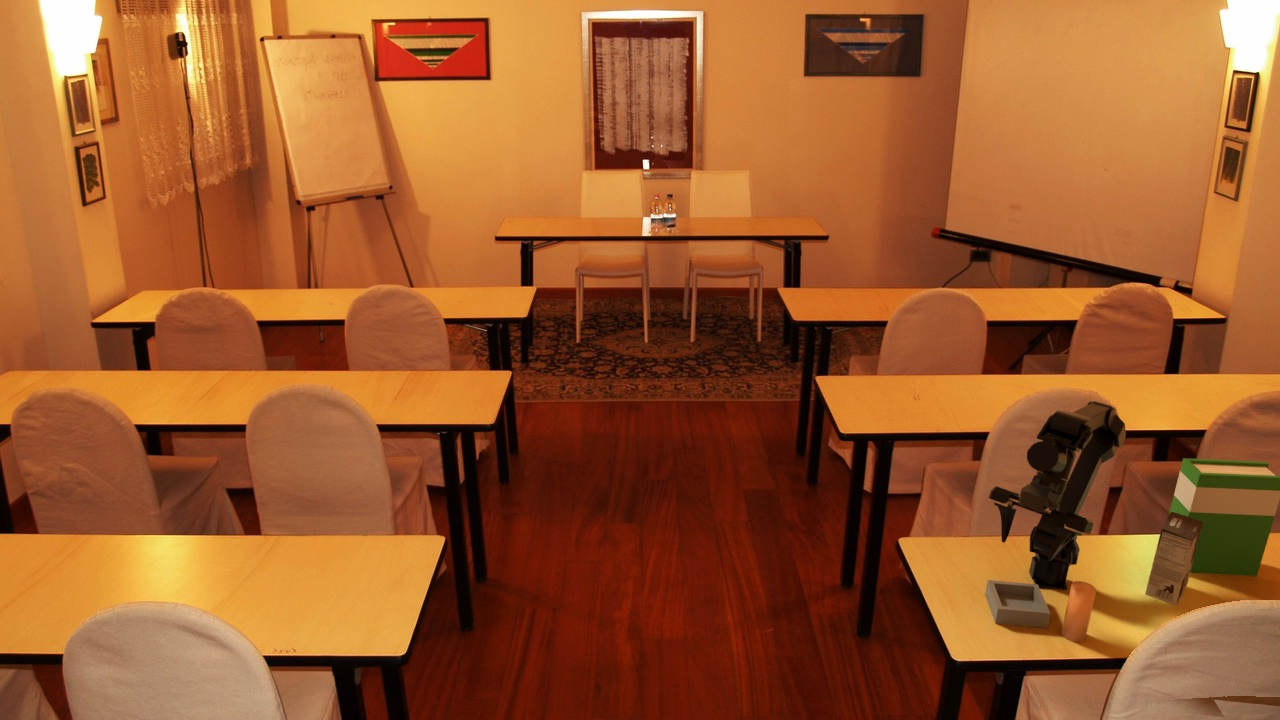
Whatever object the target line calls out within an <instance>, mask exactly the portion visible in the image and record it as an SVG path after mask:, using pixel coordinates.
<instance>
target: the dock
mask: <svg viewBox="0 0 1280 720" xmlns="http://www.w3.org/2000/svg"><path fill="white" fill-rule="evenodd" d="M986 581H987V582H986V586H985V587H986V588H985V593H984V595H985V597H986V601H987V604H988V607H989V610H990V612H991V615H992V617H993V620H994V623H995V624H997V625H998V624H999V625H1000V624H1001V625H1008V626H1010V625H1011V626H1020V627H1021V626H1022V627H1028V628H1029V627H1030V628H1039V629H1040V628H1042V629H1048V627H1049V622H1050V616H1051V611H1050V610H1049V607H1048V604H1047V602H1046V600H1045V598H1044V596H1043V592H1042V591H1041V589H1040V588H1041V587H1039V586H1038V584H1035V583H1025V582H1015V581H1005V580H1004V581H1003V580H994V579H993V580H992V579H987V580H986Z"/></svg>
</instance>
